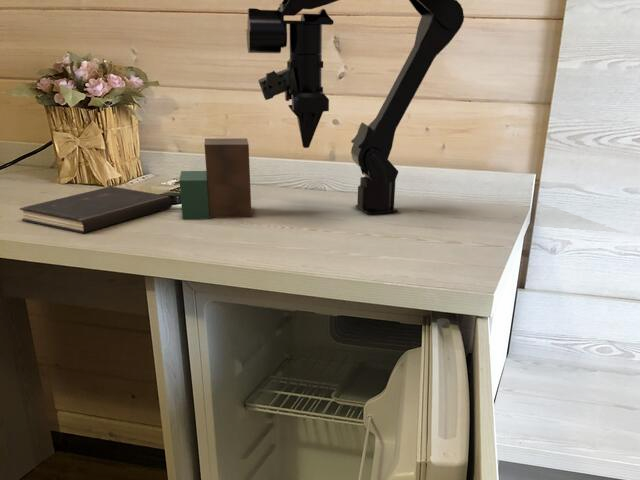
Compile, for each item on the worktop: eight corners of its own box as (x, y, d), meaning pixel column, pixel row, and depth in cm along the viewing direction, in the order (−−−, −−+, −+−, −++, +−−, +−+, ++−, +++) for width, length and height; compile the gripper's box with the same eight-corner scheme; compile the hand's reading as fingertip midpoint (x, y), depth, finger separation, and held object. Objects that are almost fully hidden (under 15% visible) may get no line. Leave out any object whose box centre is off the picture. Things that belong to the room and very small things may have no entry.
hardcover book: (22, 220, 135) (19, 207, 134) (112, 197, 152) (111, 186, 151) (84, 234, 128) (82, 220, 127) (172, 208, 146) (171, 196, 144)
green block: (209, 207, 147) (207, 170, 143) (209, 218, 139) (206, 180, 136) (184, 207, 146) (181, 170, 143) (182, 219, 139) (179, 180, 135)
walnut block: (250, 208, 147) (247, 138, 140) (251, 216, 141) (248, 144, 134) (209, 208, 146) (204, 138, 139) (209, 217, 140) (204, 144, 133)
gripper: (257, 50, 137) (260, 139, 146) (263, 56, 122) (266, 156, 130) (316, 51, 139) (316, 139, 147) (330, 57, 123) (328, 156, 131)
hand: (305, 147), depth 139 cm, fingers closed
